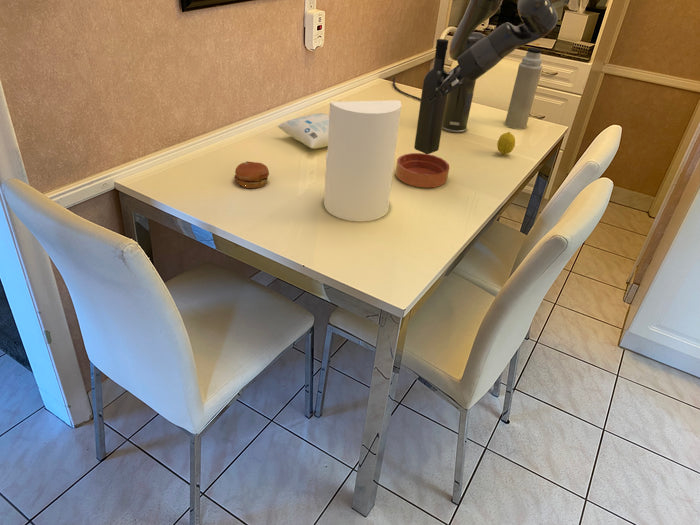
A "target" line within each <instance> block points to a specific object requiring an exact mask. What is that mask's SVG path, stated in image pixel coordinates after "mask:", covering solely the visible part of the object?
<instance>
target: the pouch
mask: <svg viewBox="0 0 700 525" xmlns="http://www.w3.org/2000/svg"><path fill="white" fill-rule="evenodd" d="M276 127H277V128H278V129H279V130H282V132H283V133H285V134H287V135H288V136H289V137H291V138H292V139H294V140H297V141H298V142H299V143H302V144H303V145H305V146H306V147H308V148H310V149H313V150H317V149H322V148H325V147H328V133H329V114H327V113H322V112H321V113H312V114H310V115H304V116H300V117H296V118H292V119H289V120H286V121H284V122H281V123H279V124H277V125H276Z"/></svg>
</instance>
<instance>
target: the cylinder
mask: <svg viewBox="0 0 700 525" xmlns="http://www.w3.org/2000/svg"><path fill="white" fill-rule="evenodd" d="M401 111H402V102H401V100H399V99H396V100H395V99H393V100H355V101H352V100H350V101H329V113H328V115H329V133H328V146H327V152H326V155H325V172H324V174H325V175H324V193H323V196H324V198H323V205H324V208H325V210H326V211H327V213H329V214H331V215H332V216H333V217H336V218H338V219H341V220H345V221H350V222H357V223H358V222H359V223H360V222H371V221H376V220H378V219H381V218H382V217H384V216H385V215H386V214H387V213H388V211H389V207H390V206H389V205H390V198H391V191H392V184H393V183H392V181H393V174H394V167H395V166H394V165H395V158H396V150H397V141H398V133H399V127H400V118H401Z"/></svg>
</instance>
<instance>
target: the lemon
mask: <svg viewBox="0 0 700 525" xmlns="http://www.w3.org/2000/svg"><path fill="white" fill-rule="evenodd" d="M515 145H516V138H515V135H514V134H512V133H511V132H510V131H508V132H505V133H504V132H503V133H502V134H501V135H500V136H499V138H498V140H497V144H496V146H497V147H496V148H497V150H498V152H499V153H500V154H501V155H502V156H505V155H508V154H510V153H512V151H514V149H515Z"/></svg>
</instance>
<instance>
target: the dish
mask: <svg viewBox="0 0 700 525" xmlns="http://www.w3.org/2000/svg"><path fill="white" fill-rule="evenodd" d="M449 172H450V164H449V163H448V161H446V160H445V159H443V158H442V157H439V156H436V155H434V154H431V153H430V154H425V153H423V152H410V153H404V154H402V155H400V156H399V157H398V158H397V159H396V166H395V176H396V178H397V179H398V180H399V181H401V182H403V183H405V184H407V185H410V186H413V187H418V188H436V187H440V186H442V185H444V184H446V183H447V181H448V178H449Z"/></svg>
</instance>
